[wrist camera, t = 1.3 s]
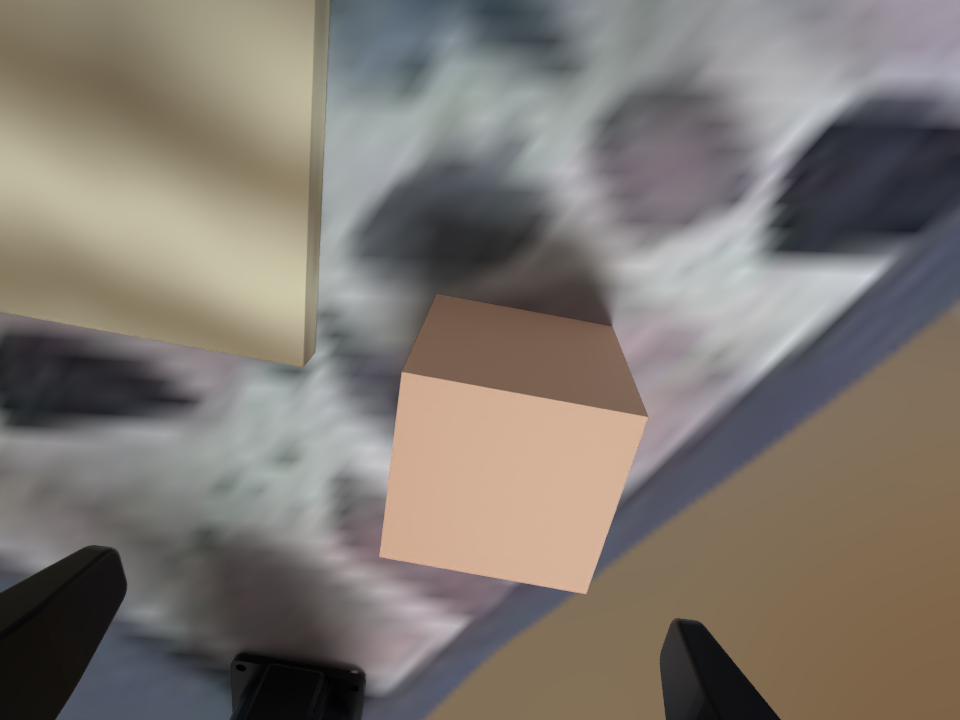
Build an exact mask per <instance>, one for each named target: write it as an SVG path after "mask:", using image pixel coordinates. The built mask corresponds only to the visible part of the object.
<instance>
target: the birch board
mask: <svg viewBox="0 0 960 720" xmlns="http://www.w3.org/2000/svg"><path fill="white" fill-rule="evenodd" d="M329 18H330V0H0V312H4V313H9V314H15V315H20V316H26V317H31V318H37V319H42V320H48V321H53V322H58V323H64V324H69V325H75V326H80V327H86V328H91V329H97V330H102V331H107V332H113V333H118V334H124V335H129V336H135V337H140V338H146V339H151V340H157V341H162V342H167V343H173V344H178V345H184V346H189V347H195V348H200V349H206V350H211V351H216V352H222V353H227V354H233V355H238V356H244V357H249V358H255V359H260V360H266V361H271V362H276V363H282V364H287V365H293V366H298V367H304V366H305V365H306V363H307V362H308V361H309V360H310V358H311V357H312V356H313V355H314V354H315V346H316V323H317V299H318V276H319V252H320V229H321V206H322V182H323V159H324V135H325V112H326V89H327V65H328V42H329Z"/></svg>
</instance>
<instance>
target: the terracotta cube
mask: <svg viewBox="0 0 960 720" xmlns="http://www.w3.org/2000/svg"><path fill="white" fill-rule="evenodd" d="M647 420H648V415H647V412H646V410H645V407H644V405H643V402H642V400H641V397H640V395H639V392H638V390H637V387H636V385H635V382H634V380H633V377H632V374H631V372H630V369H629V367H628V364H627V362H626V359H625V357H624V354H623V352H622V349H621V347H620V344H619V342H618V339H617V337H616V334H615V332H614V329H613V327H612V326H608V325H603V324H597V323H592V322H586V321H581V320H576V319H570V318H565V317H559V316H554V315H549V314H543V313H538V312H532V311H527V310H522V309H516V308H511V307H505V306H500V305H495V304H489V303H484V302H478V301H473V300H468V299H462V298H457V297H451V296H446V295H440V294H436V297H435V299H434V301H433V303H432V305H431V308H430V310H429V312H428V314H427V317H426V319H425V321H424V323H423V326H422V328H421V330H420V332H419V335H418V337H417V339H416V341H415V343H414V346H413V348H412V350H411V352H410V355H409V357H408V359H407V361H406V364H405V366H404V368H403V370H402V374H401V383H400V391H399V399H398V407H397V416H396V424H395V432H394V441H393V449H392V457H391V465H390V474H389V482H388V490H387V499H386V507H385V515H384V523H383V532H382V540H381V548H380V557H383V558H389V559H394V560H400V561H405V562H411V563H416V564H422V565H427V566H433V567H439V568H444V569H450V570H455V571H461V572H466V573H472V574H477V575H483V576H488V577H494V578H500V579H505V580H511V581H516V582H522V583H527V584H533V585H538V586H544V587H549V588H555V589H561V590H566V591H572V592H577V593H583V594H586V593H587V590H588V587H589V584H590V582H591V579H592V576H593V573H594V570H595V567H596V565H597V562H598V559H599V556H600V553H601V550H602V548H603V545H604V542H605V539H606V536H607V533H608V531H609V528H610V525H611V522H612V519H613V516H614V513H615V511H616V508H617V505H618V502H619V499H620V496H621V494H622V491H623V488H624V485H625V482H626V479H627V477H628V474H629V471H630V468H631V465H632V462H633V460H634V457H635V454H636V451H637V448H638V445H639V442H640V440H641V437H642V434H643V431H644V428H645V425H646V423H647Z"/></svg>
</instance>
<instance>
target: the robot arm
mask: <svg viewBox="0 0 960 720" xmlns="http://www.w3.org/2000/svg"><path fill="white" fill-rule="evenodd" d="M126 590H127V580H126V576H125V573H124V569H123V566H122V562H121V558H120V555H119V552H118V551H117V550H116V549H115V548H112V547H105V546H97V545H91V546H87V547H84V548H82V549H80V550H78V551H77V552H75V553H73V554H71V555H69V556H67V557H65V558H64V559H62V560H60V561H58V562H56V563H54V564H53V565H51V566H49V567H47V568H45V569H43V570H41V571H40V572H38V573H36V574H34V575H32V576H30V577H28V578H27V579H25V580H23V581H21V582H19V583H17V584H15V585H14V586H12V587H10V588H8V589H6V590H4V591H2V592H1V593H0V720H55V719H56V718H57V716H58V715H59V713H60V712H61V710H62V709H63V707H64V705H65V704H66V702H67V701H68V699H69V698H70V696H71V694H72V693H73V691H74V689H75V688H76V686H77V684H78V682H79V681H80V679H81V677H82V675H83V673H84V672H85V670H86V668H87V666H88V664H89V662H90V660H91V659H92V657H93V655H94V653H95V651H96V649H97V648H98V646H99V644H100V642H101V640H102V638H103V636H104V635H105V633H106V631H107V629H108V627H109V625H110V623H111V622H112V620H113V618H114V616H115V614H116V612H117V611H118V609H119V607H120V605H121V603H122V601H123V599H124V597H125V594H126ZM660 671H661V680H662V689H663V698H664V707H665V716H666V720H781V719H780V718H779V717H778V716H777V714H776V713H775V712H774V711H773V710H772V708H771V707H770V706H769V705H768V703H767V702H766V701H765V700H764V699H763V697H762V696H761V695H760V694H759V692H758V691H757V690H756V689H755V687H754V686H753V685H752V684H751V682H750V681H749V680H748V679H747V678H746V676H745V675H744V674H743V673H742V672H741V670H740V669H739V668H738V667H737V665H736V664H735V663H734V662H733V660H732V659H731V658H730V657H729V655H728V654H727V653H726V652H725V651H724V649H723V648H722V647H721V646H720V644H719V643H718V642H717V641H716V640H715V638H714V637H713V636H712V635H711V633H710V632H709V631H708V630H707V628H706V627H705V626H704V625H703V624H702V623H700V622H699V621H695V620H687V619H680V618H676V619H674V620H673V621H672V622H671V624H670V627H669V630H668V633H667V635H666V638H665V641H664V644H663V647H662V650H661V654H660ZM231 685H232V708H233V714H232V716H231V718H230V720H361V718H362V710H363V702H364V694H365V685H366V680H365V678H364V677H363V676H361V675H359V674H356V673H350V672H345V671H339V670H334V669H328V668H323V667H317V666H312V665H306V664H300V663H295V662H289V661H284V660H278V659H273V658H267V657H262V656H256V655H250V654H245V653H240V654H237V655H236V656H235V658H234V659H233V661H232V663H231Z"/></svg>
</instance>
